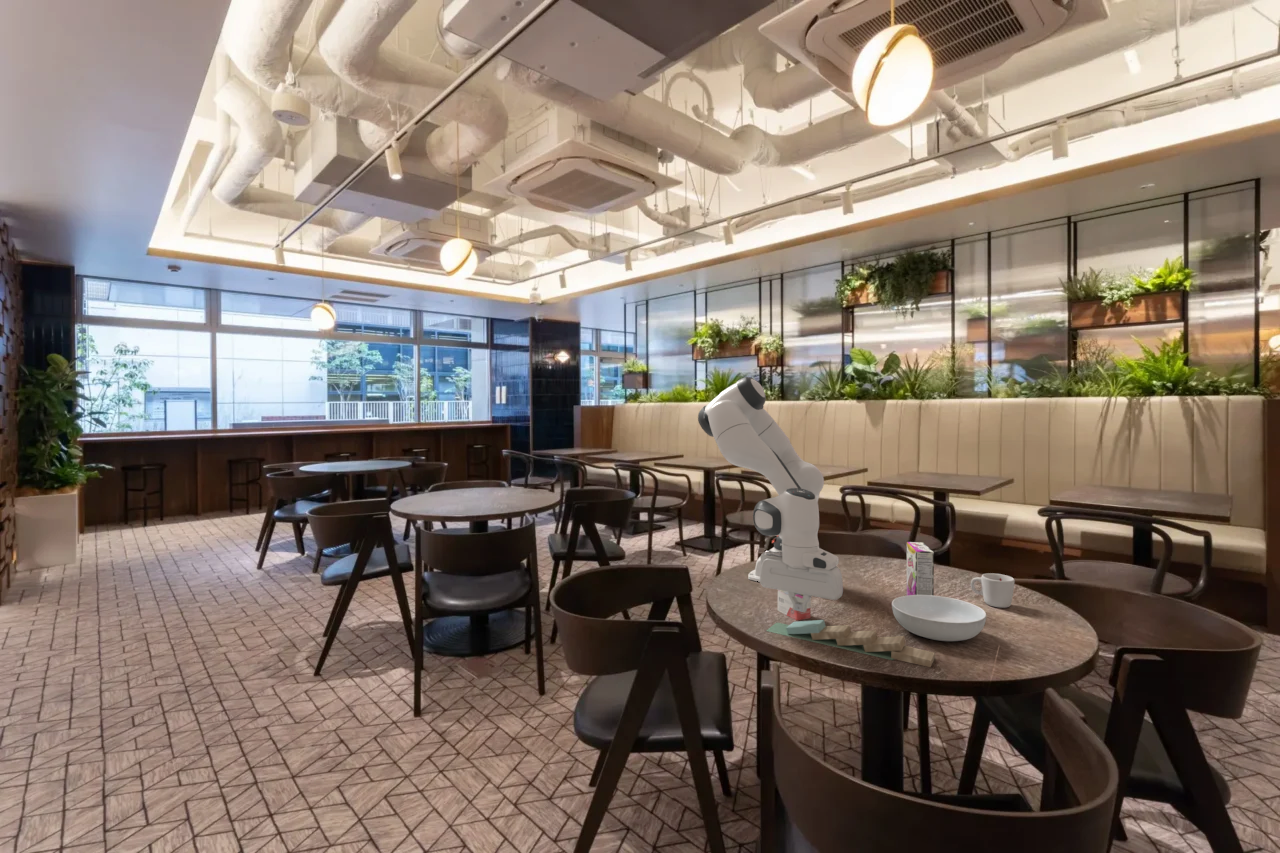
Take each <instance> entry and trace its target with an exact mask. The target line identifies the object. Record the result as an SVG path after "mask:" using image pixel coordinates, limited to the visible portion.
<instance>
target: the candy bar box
mask: <svg viewBox="0 0 1280 853" xmlns="http://www.w3.org/2000/svg"><path fill="white" fill-rule="evenodd" d="M934 556H935V552H934V550H932V549H931V548H930V547H929V546H928V545H927V544H926V543H924V542H920V541H919V542H917V541H907V542H906V595H905V596H908V595H933V596H935V595H934V587H935V586H934V584H935V582H934V580H935V579H934V576H935V573H934V571H935V566H934V565H935V557H934Z"/></svg>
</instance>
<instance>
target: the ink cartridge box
mask: <svg viewBox="0 0 1280 853" xmlns="http://www.w3.org/2000/svg"><path fill="white" fill-rule="evenodd" d="M795 596H796V598H797V601H798V602H801V603H803V602H804V600H805V599H803V594H798V593H797V594H796V595H795ZM811 599H812V598H811ZM811 599H810V600H809V602H808V603H807V610H806V612H801V611H796V610H793V603H792V601H791V599H790V598H789V592H787V591H782V590H777V612H780V613H782V614H783V615H785V616H788V617H790V618H791V619H793V620H795V621H803V620H807V619H811V618H812V616H811V614H812V613H811V608H812V607H811V606H812V604H811V601H812V600H811Z"/></svg>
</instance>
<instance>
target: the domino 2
mask: <svg viewBox="0 0 1280 853" xmlns="http://www.w3.org/2000/svg"><path fill="white" fill-rule="evenodd" d="M850 632H852V630H851V625H850V624H843V625H840V624H839V625H825V627H824V628H823V629H822V630H821V631H820V632H819V633H811V636H812V640H821V639H844V638H846V637H847V636H848V635H849V634H850Z"/></svg>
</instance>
